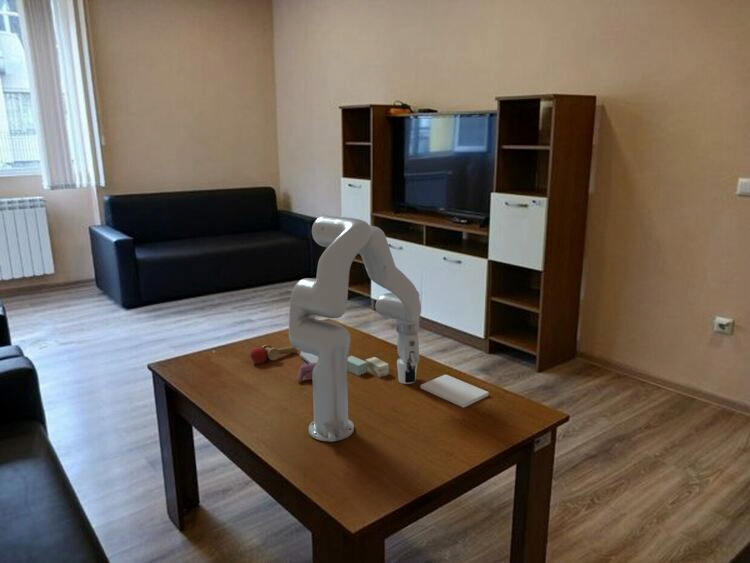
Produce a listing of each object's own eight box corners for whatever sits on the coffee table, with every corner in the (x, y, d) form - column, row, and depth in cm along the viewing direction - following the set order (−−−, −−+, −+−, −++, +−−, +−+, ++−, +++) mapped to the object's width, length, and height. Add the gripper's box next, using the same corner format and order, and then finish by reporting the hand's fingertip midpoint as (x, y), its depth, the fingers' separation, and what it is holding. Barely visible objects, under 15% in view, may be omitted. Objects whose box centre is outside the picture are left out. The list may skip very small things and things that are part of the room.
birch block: (388, 375, 200) (388, 364, 199) (379, 378, 198) (379, 367, 197) (374, 367, 207) (374, 356, 206) (365, 370, 204) (365, 359, 203)
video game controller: (328, 384, 197) (329, 363, 198) (326, 383, 193) (327, 362, 194) (299, 383, 198) (300, 362, 199) (296, 383, 193) (297, 361, 195)
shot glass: (400, 385, 192) (400, 366, 190) (394, 377, 198) (394, 358, 196) (420, 383, 193) (420, 363, 192) (413, 374, 200) (413, 355, 198)
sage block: (367, 372, 202) (367, 362, 201) (358, 376, 200) (358, 365, 199) (351, 366, 208) (351, 355, 207) (343, 369, 205) (343, 358, 204)
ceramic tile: (488, 395, 185) (488, 392, 184) (463, 407, 177) (463, 404, 177) (445, 377, 198) (445, 374, 197) (420, 388, 190) (420, 384, 190)
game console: (339, 361, 206) (318, 366, 202) (339, 368, 206) (318, 373, 202) (316, 345, 221) (296, 350, 217) (317, 351, 221) (297, 356, 217)
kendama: (288, 352, 224) (245, 358, 212) (291, 337, 222) (248, 342, 210) (299, 362, 218) (255, 368, 207) (302, 346, 216) (258, 352, 205)
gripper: (427, 334, 184) (426, 387, 188) (410, 317, 200) (410, 366, 204) (404, 336, 182) (403, 390, 187) (389, 319, 198) (389, 368, 203)
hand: (406, 377), depth 195 cm, fingers closed on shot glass, 6 cm apart
